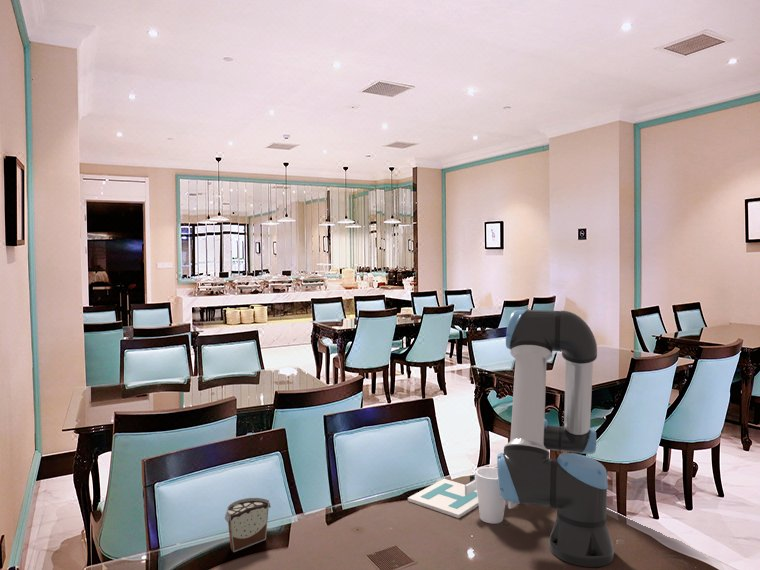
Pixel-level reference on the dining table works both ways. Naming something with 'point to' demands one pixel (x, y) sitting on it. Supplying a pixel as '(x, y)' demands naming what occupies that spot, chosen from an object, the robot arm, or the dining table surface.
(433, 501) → the letter board
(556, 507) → the robot arm
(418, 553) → the dining table surface
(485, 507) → the foam cup
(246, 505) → the food container
